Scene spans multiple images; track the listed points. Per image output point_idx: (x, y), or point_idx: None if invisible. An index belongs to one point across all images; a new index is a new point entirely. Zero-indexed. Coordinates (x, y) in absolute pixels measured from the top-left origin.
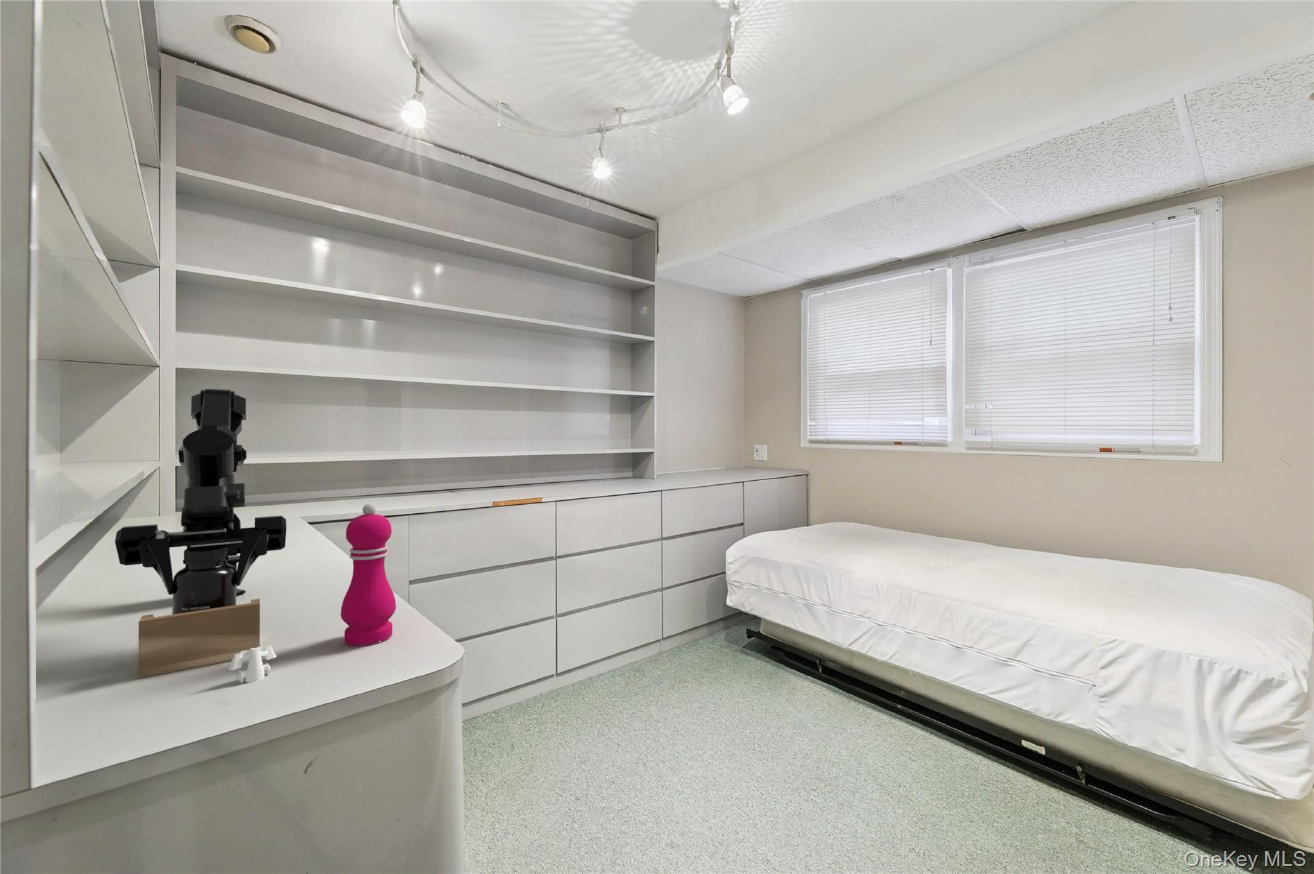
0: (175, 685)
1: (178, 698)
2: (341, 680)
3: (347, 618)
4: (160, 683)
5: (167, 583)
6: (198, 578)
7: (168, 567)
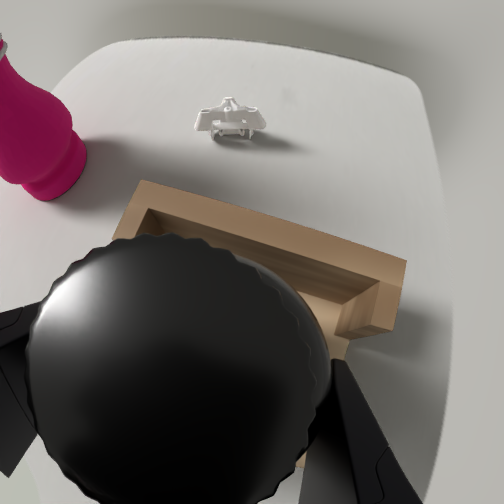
0: (319, 203)
1: (325, 149)
2: (175, 66)
3: (71, 123)
4: (335, 234)
5: (352, 380)
6: (260, 264)
7: (359, 441)
